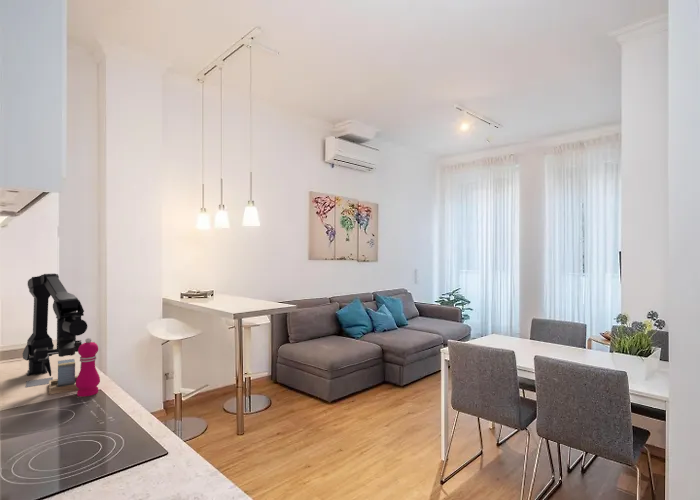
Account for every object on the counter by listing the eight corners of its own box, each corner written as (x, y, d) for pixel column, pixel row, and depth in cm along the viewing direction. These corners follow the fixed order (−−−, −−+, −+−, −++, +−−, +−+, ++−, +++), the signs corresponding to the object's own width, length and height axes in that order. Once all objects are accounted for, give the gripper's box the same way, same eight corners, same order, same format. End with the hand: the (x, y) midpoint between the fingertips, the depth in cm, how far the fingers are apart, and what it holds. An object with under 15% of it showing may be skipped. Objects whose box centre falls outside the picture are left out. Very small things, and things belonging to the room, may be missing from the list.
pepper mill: (104, 392, 141) (105, 337, 141) (83, 399, 135) (84, 341, 134) (91, 389, 144) (92, 334, 144) (70, 395, 138) (71, 338, 137)
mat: (26, 382, 150) (26, 381, 150) (52, 378, 155) (52, 377, 155) (25, 388, 144) (25, 387, 144) (52, 384, 148) (52, 383, 148)
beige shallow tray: (49, 385, 147) (49, 380, 147) (81, 380, 153) (81, 375, 153) (49, 395, 137) (49, 389, 137) (83, 389, 144) (83, 384, 143)
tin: (57, 385, 147) (57, 360, 146) (74, 382, 150) (74, 358, 149) (57, 390, 141) (57, 365, 141) (75, 387, 144) (75, 363, 144)
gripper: (33, 339, 133) (32, 385, 133) (98, 332, 144) (98, 375, 144) (34, 333, 142) (34, 376, 142) (95, 327, 153) (95, 367, 153)
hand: (66, 373), depth 145 cm, fingers open, 9 cm apart
